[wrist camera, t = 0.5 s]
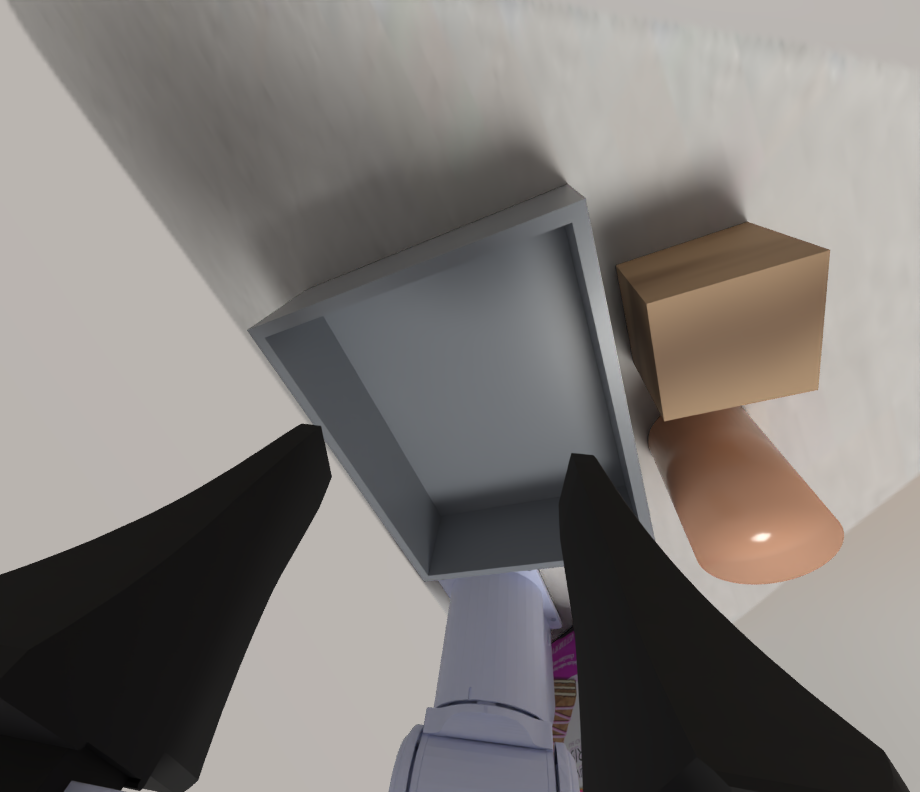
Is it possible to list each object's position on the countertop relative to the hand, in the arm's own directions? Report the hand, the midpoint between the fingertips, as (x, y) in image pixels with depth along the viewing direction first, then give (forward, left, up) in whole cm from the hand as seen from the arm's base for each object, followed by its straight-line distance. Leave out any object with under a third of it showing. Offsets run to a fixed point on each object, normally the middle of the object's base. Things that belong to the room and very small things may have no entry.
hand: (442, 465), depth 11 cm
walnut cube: (-2, -9, -10) cm, 14 cm away
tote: (-4, +1, -10) cm, 10 cm away
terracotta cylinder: (-10, -9, -10) cm, 17 cm away
